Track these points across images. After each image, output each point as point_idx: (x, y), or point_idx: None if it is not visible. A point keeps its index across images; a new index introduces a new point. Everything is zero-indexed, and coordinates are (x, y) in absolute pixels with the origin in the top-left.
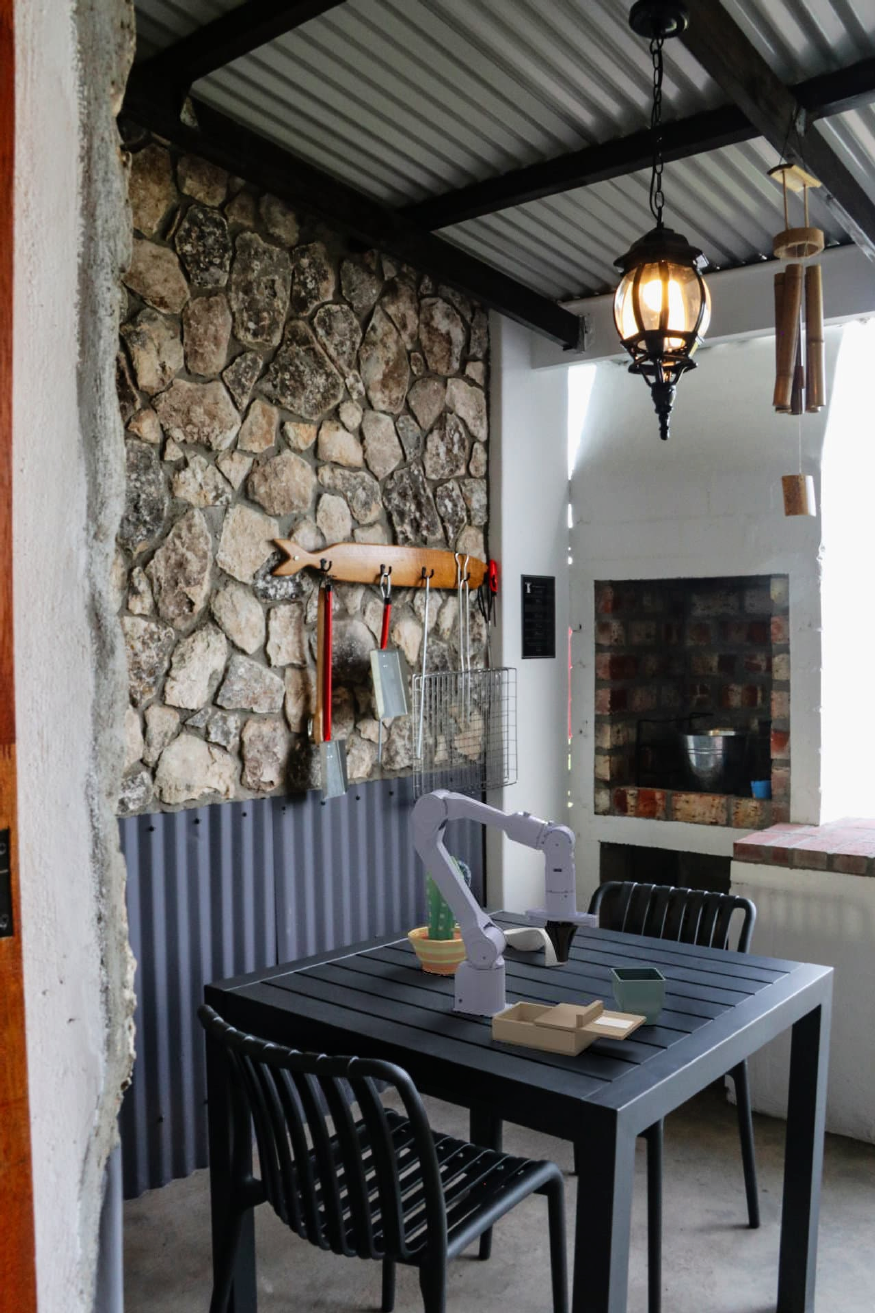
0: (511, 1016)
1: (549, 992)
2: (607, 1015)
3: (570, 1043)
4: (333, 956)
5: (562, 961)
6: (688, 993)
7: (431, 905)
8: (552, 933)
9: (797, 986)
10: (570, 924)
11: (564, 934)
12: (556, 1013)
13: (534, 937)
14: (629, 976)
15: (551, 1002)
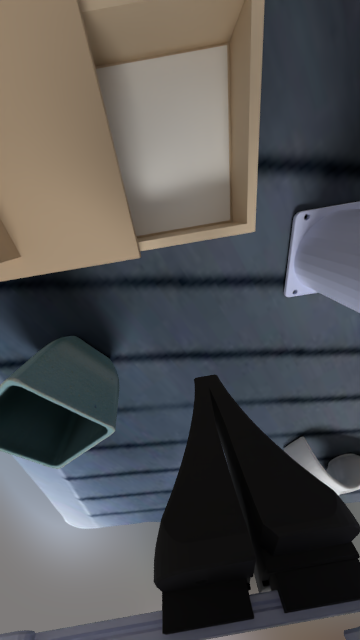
0: (240, 154)
1: (260, 379)
2: None
3: None
4: None
5: (198, 380)
6: (115, 453)
7: None
8: (270, 482)
9: (56, 503)
10: (177, 612)
11: (186, 500)
12: (78, 149)
13: (344, 475)
14: (92, 429)
15: (238, 350)
